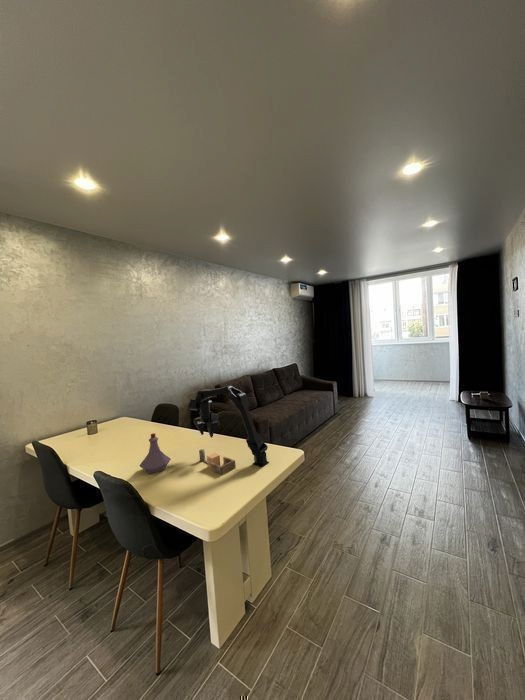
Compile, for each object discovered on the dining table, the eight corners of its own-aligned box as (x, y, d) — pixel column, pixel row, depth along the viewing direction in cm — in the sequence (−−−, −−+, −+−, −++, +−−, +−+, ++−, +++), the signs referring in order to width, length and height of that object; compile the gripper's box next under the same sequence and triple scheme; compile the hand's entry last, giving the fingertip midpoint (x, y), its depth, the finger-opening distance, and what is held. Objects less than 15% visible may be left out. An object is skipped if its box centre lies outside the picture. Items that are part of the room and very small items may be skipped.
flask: (140, 467, 152) (137, 432, 151) (171, 460, 158) (168, 427, 157) (138, 480, 136) (135, 441, 136) (172, 472, 142) (169, 435, 142)
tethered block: (220, 466, 146) (219, 455, 146) (212, 469, 142) (211, 458, 142) (204, 458, 157) (204, 448, 157) (197, 461, 154) (196, 451, 154)
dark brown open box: (235, 467, 142) (235, 460, 142) (221, 475, 135) (221, 467, 135) (225, 463, 148) (224, 456, 148) (210, 470, 141) (210, 463, 141)
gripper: (225, 409, 160) (227, 434, 160) (206, 405, 172) (208, 429, 173) (210, 413, 152) (212, 440, 152) (191, 409, 164) (193, 434, 165)
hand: (207, 436), depth 161 cm, fingers open, 9 cm apart
